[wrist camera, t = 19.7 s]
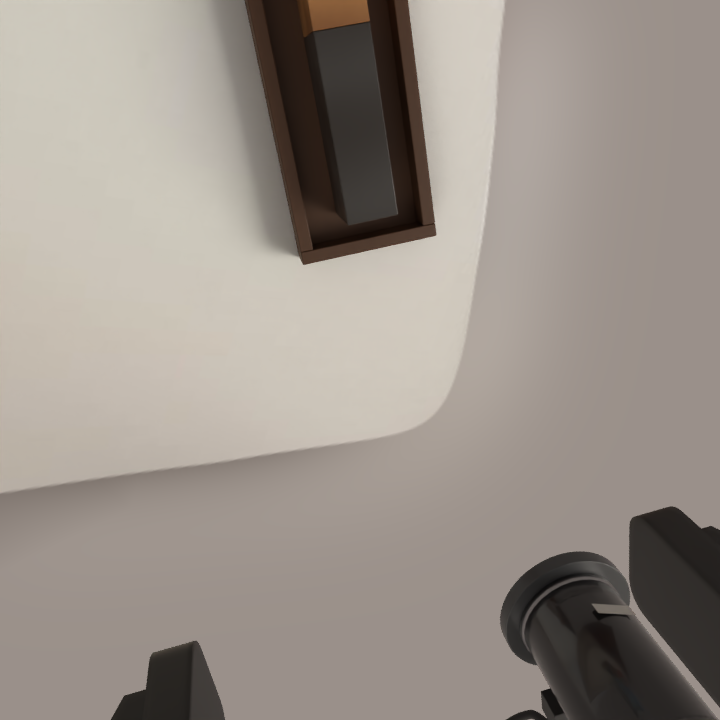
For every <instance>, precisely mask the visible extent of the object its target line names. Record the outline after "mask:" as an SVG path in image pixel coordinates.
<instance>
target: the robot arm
mask: <svg viewBox="0 0 720 720" xmlns="http://www.w3.org/2000/svg"><path fill="white" fill-rule="evenodd" d="M629 541H630V542H629V543H630V544H629V545H630V546H629V549H630V550H629V580H630V586H631V590H632V593H633V596H634V599H635V601H636V603H637V605H638V607H639V609H640V610H641V611H642V613H643V614H644V616H645V617H646V618H647V619H648V621H649V622H650V623H651V624H652V626H653V627H654V628H655V629H656V630H657V632H658V633H659V634H660V635H661V636H662V638H663V639H664V640H665V641H666V642H667V644H668V645H669V646H670V647H671V649H672V650H673V651H674V652H675V653H676V655H677V656H678V657H679V658H680V660H681V661H682V662H683V663H684V664H685V666H686V667H687V668H688V669H689V671H690V672H691V673H692V674H693V676H694V677H695V678H696V679H697V680H698V681H699V683H700V684H701V685H702V686H703V688H704V689H705V690H706V691H707V692H708V694H709V695H710V696H711V697H712V699H713V700H714V701H715V702H716V703H717V705H718V706H719V707H720V530H718V529H716V528H714V527H712V526H709V527H706V528H702V529H701V528H700V527H698V526H697V525H696V524H695V523H694V522H693V521H692V520H691V519H690V518H688V517H687V516H686V515H685V514H684V513H683V512H682V511H681V510H679V509H678V508H676V507H667V508H663V509H660V510H657V511H653V512H650V513H646V514H642V515H639V516H636V517H633V518H632V519H631V521H630V534H629ZM520 635H521V638H522V640H523V642H524V644H525V646H526V648H527V649H528V651H529V652H530V653H531V654H532V656H533V658H534V660H535V661H536V663H537V665H538V667H539V669H540V670H541V672H542V674H543V676H544V678H545V680H546V681H547V683H548V685H549V687H550V689H547V690H544V691H541V698H542V709H543V711H544V713H545V715H546V717H547V718H545V717H544V716H543V715H541V714H540V713H538V712H536V711H534V710H527V711H523V712H520V713H518V714H515V715H513V716H512V717H510V718H508V719H507V720H527V719H535V720H718V718H717V717H716V716H715V715H714V713H713V712H712V711H711V710H710V709H709V707H708V706H707V705H706V703H705V702H704V701H703V700H702V698H701V697H700V696H699V695H698V694H697V692H696V691H695V690H694V688H693V687H692V686H691V685H690V683H689V682H688V681H687V680H686V679H685V677H684V676H683V675H682V674H681V673H680V671H679V670H678V669H677V667H676V666H675V665H674V664H673V662H672V661H671V660H670V659H669V657H668V656H667V655H666V654H665V652H664V651H663V650H662V649H661V647H660V646H659V645H658V644H657V642H656V641H655V640H654V639H653V637H652V636H651V635H650V634H649V632H648V631H647V630H646V629H645V627H644V626H643V625H642V624H641V622H640V621H639V620H638V619H637V617H636V616H635V613H634V612H633V611H632V610H631V608H630V607H629V606H627V605H626V603H625V602H624V601H623V600H622V599H621V597H620V596H619V594H618V592H617V591H616V589H615V588H614V587H613V585H612V584H611V583H610V582H609V581H607V580H606V579H605V578H603V577H601V576H598V575H594V574H574V575H570V576H566V577H563V578H561V579H558V580H556V581H554V582H552V583H551V584H549V585H547V586H546V587H544V588H543V589H542V590H541V591H539V592H538V593H537V594H536V595H535V596H534V597H533V598H532V600H531V601H530V602H529V604H528V605H527V607H526V609H525V610H524V613H523V615H522V618H521V622H520ZM111 720H225V717H224V712H223V708H222V704H221V701H220V698H219V696H218V693H217V690H216V687H215V684H214V682H213V679H212V676H211V674H210V671H209V668H208V666H207V663H206V660H205V658H204V655H203V652H202V650H201V647H200V645H199V643H198V642H197V641H193V642H189V643H186V644H182V645H179V646H175V647H172V648H168V649H165V650H162V651H158V652H154V653H153V654H152V655H151V657H150V661H149V668H148V676H147V685H146V690H143V691H139V692H136V693H132V694H129V695H125V696H124V697H123V699H122V701H121V703H120V704H119V706H118V708H117V710H116V712H115V713H114V715H113V717H112V719H111Z"/></svg>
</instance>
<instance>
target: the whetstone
mask: <svg viewBox="0 0 720 720" xmlns="http://www.w3.org/2000/svg"><path fill="white" fill-rule="evenodd" d="M297 5H298V10H299V16H300V21H301V27H302V32H303V37H305V38H304V42H305V48H306V53H307V59H308V64H309V69H310V75H311V80H312V86H313V91H314V96H315V102H316V107H317V112H318V118H319V123H320V129H321V134H322V139H323V145H324V150H325V156H326V161H327V166H328V172H329V177H330V182H331V188H332V193H333V199H334V204H335V209H336V214H337V215H338V216H339V217H340V218H341V219H342V220H343V221H344V222H345V223H346V224H347V225H353V224H358V223H362V222H367V221H371V220H376V219H381V218H385V217H390V216H394V215H398V210H397V203H396V196H395V189H394V182H393V176H392V169H391V162H390V155H389V148H388V141H387V135H386V128H385V121H384V114H383V107H382V100H381V94H380V87H379V80H378V73H377V66H376V60H375V53H374V46H373V39H372V32H371V25H370V22H369V21H370V18H369V11H368V4H367V0H297Z"/></svg>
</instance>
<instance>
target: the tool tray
mask: <svg viewBox="0 0 720 720" xmlns="http://www.w3.org/2000/svg"><path fill="white" fill-rule="evenodd" d="M245 4H246V9H247V13H248V18H249V23H250V27H251V32H252V37H253V42H254V46H255V51H256V56H257V60H258V65H259V70H260V74H261V79H262V84H263V88H264V93H265V98H266V103H267V107H268V112H269V117H270V121H271V126H272V131H273V135H274V140H275V145H276V149H277V154H278V159H279V164H280V168H281V173H282V178H283V182H284V187H285V192H286V196H287V201H288V206H289V210H290V215H291V220H292V224H293V229H294V234H295V239H296V243H297V248H298V253H299V257H300V259H301V261H302V263H303V265H305V264H310V263H314V262H319V261H323V260H328V259H333V258H337V257H342V256H346V255H351V254H355V253H360V252H364V251H369V250H373V249H378V248H382V247H387V246H391V245H396V244H400V243H405V242H409V241H414V240H418V239H423V238H428V237H432V236H436V228H435V220H434V212H433V204H432V196H431V187H430V179H429V171H428V163H427V155H426V146H425V138H424V130H423V122H422V114H421V105H420V97H419V89H418V81H417V72H416V64H415V56H414V48H413V40H412V31H411V23H410V15H409V7H408V0H367V4H368V11H369V18H370V21H369V22H370V25H371V32H372V39H373V46H374V53H375V60H376V66H377V73H378V80H379V87H380V94H381V100H382V107H383V114H384V121H385V128H386V135H387V141H388V148H389V155H390V162H391V169H392V176H393V182H394V189H395V196H396V203H397V210H398V215H394V216H390V217H385V218H381V219H376V220H371V221H367V222H362V223H358V224H353V225H347V224H346V223H345V222H344V221H343V220H342V219H341V218H340V217H339V216H338V215H337V214H336V209H335V204H334V199H333V193H332V188H331V182H330V177H329V172H328V166H327V161H326V156H325V150H324V145H323V139H322V134H321V129H320V123H319V118H318V112H317V107H316V102H315V96H314V91H313V86H312V80H311V75H310V69H309V64H308V59H307V53H306V48H305V42H304V38H305V37H303V32H302V27H301V21H300V16H299V10H298V5H297V0H245Z"/></svg>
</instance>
